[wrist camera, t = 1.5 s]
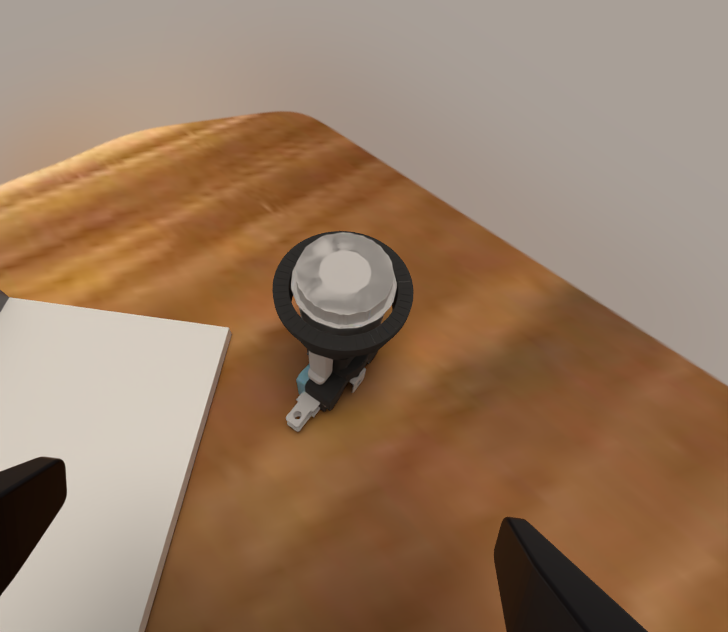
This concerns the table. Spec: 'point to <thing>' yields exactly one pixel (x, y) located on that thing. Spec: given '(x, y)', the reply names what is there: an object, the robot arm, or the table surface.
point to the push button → (339, 311)
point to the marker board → (102, 453)
